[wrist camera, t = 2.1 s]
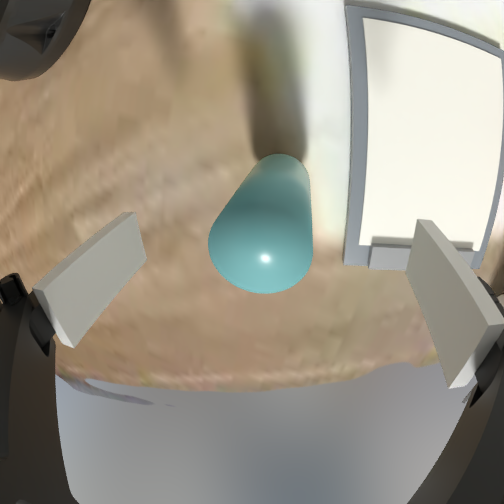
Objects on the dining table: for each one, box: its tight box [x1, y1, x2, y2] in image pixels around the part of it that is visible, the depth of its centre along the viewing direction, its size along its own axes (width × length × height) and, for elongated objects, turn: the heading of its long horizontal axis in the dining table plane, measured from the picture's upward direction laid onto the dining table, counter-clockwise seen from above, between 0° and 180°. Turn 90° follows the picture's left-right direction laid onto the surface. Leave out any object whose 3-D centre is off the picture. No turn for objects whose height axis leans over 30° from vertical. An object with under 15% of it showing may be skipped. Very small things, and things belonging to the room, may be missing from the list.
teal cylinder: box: [208, 154, 313, 293], centre depth 15 cm, size 4×4×11 cm
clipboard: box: [342, 5, 504, 270], centre depth 15 cm, size 20×14×2 cm
